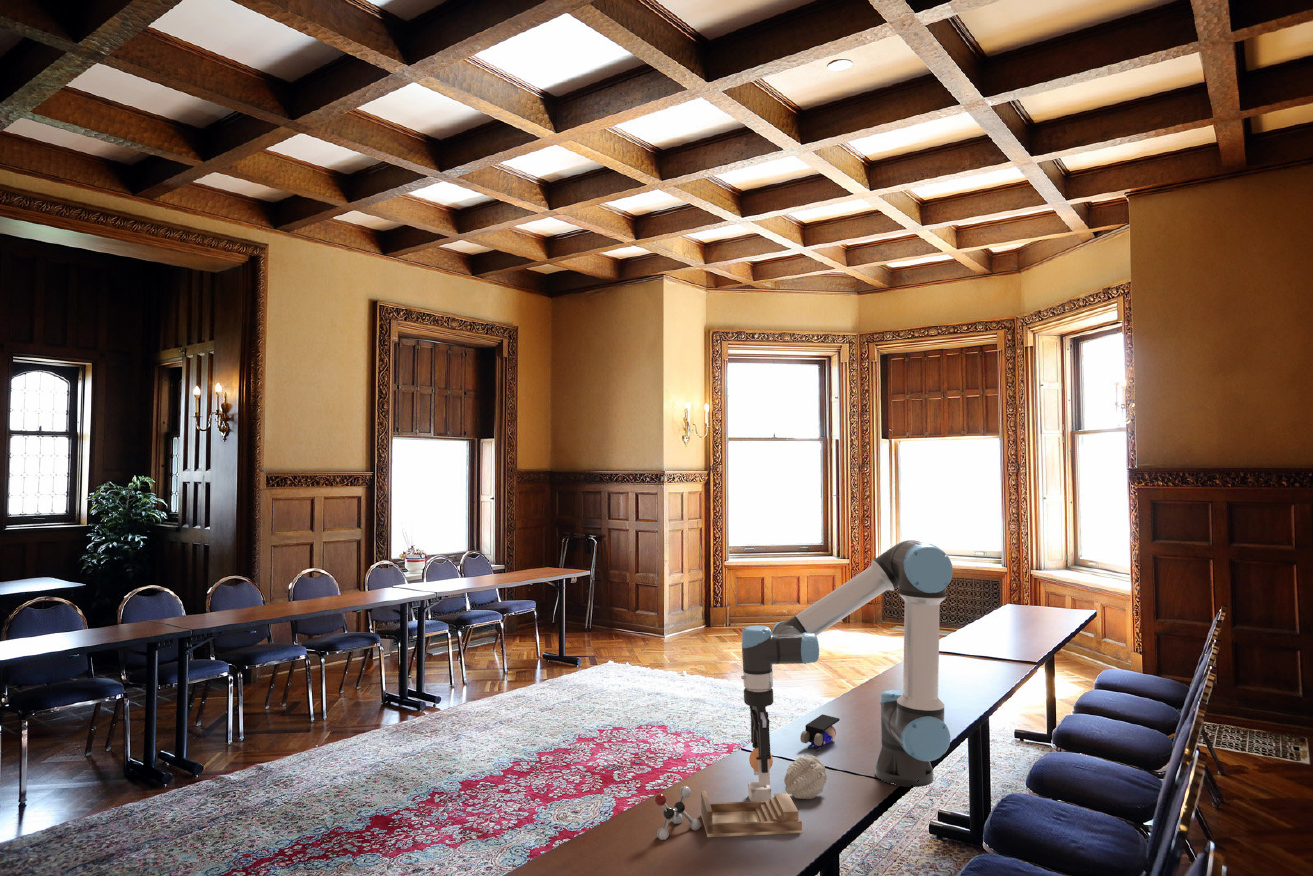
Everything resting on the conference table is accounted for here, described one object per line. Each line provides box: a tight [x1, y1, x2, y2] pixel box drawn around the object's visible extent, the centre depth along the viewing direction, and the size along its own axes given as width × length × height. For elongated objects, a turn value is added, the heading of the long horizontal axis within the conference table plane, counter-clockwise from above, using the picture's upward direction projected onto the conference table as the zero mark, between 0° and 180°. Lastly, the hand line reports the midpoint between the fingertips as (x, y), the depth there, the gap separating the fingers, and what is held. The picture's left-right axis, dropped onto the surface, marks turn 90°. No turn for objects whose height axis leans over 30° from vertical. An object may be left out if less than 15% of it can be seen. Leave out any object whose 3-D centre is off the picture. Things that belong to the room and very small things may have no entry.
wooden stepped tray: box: [700, 790, 803, 838], centre depth 190 cm, size 22×12×6 cm, turn 94°
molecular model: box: [654, 785, 702, 841], centre depth 186 cm, size 8×12×11 cm
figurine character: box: [799, 714, 840, 752], centre depth 244 cm, size 7×8×15 cm
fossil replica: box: [783, 754, 828, 800], centre depth 206 cm, size 12×8×10 cm
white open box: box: [747, 781, 772, 802], centre depth 204 cm, size 5×5×4 cm
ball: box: [748, 748, 774, 772], centre depth 204 cm, size 6×6×6 cm
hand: (761, 779), depth 204 cm, fingers closed on ball, 6 cm apart
